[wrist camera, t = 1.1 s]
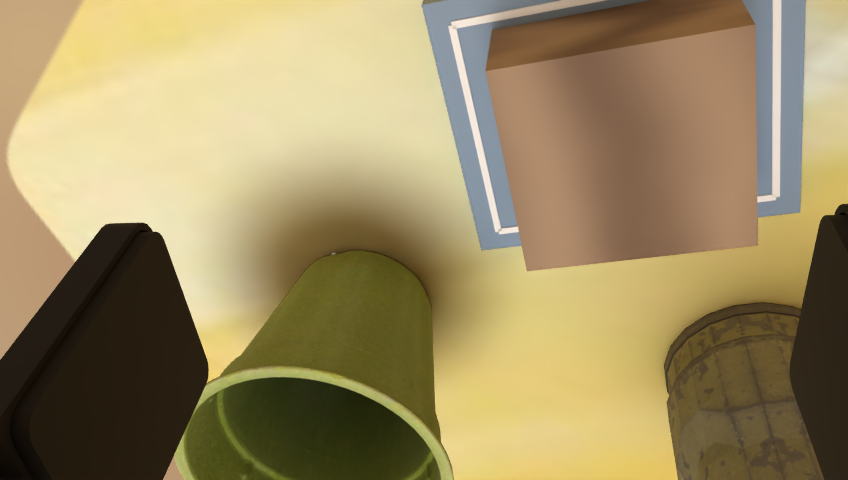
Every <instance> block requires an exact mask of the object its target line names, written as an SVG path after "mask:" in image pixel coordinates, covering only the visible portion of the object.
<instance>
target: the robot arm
mask: <svg viewBox="0 0 848 480" xmlns="http://www.w3.org/2000/svg"><path fill="white" fill-rule="evenodd" d="M208 370H209V369H208V362H207V358H206V355H205V353H204V350H203V347H202V344H201V341H200V339H199V336H198V333H197V330H196V328H195V325H194V322H193V319H192V316H191V314H190V311H189V308H188V305H187V303H186V300H185V297H184V294H183V291H182V289H181V286H180V283H179V280H178V278H177V275H176V272H175V269H174V266H173V264H172V261H171V258H170V255H169V253H168V250H167V247H166V244H165V241H164V239H163V237H162V236H161V235H160V233H158V232H153V231H152V229H151V228H150V227H149V226H148V225H147V224H145V223H114V224H106V225H105V226H103V227H102V228H101V229H100V231H99V232H98V233H97V235H96V236H95V237H94V239H93V240H92V241H91V242H90V244H89V245H88V246H87V248H86V249H85V250H84V252H83V253H82V254H81V255H80V257H79V258H78V259H77V261H76V262H75V263H74V265H73V266H72V267H71V269H70V270H69V271H68V272H67V274H66V275H65V276H64V278H63V279H62V280H61V282H60V283H59V284H58V285H57V287H56V288H55V290H54V291H53V292H52V293H51V295H50V296H49V297H48V299H47V300H46V301H45V302H44V304H43V305H42V306H41V308H40V309H39V310H38V312H37V313H36V314H35V316H34V317H33V318H32V319H31V321H30V322H29V323H28V325H27V326H26V327H25V329H24V330H23V331H22V332H21V334H20V335H19V336H18V338H17V339H16V340H15V342H14V343H13V344H12V345H11V347H10V348H9V350H8V351H7V352H6V353H5V355H4V356H3V357H2V359H1V360H0V480H163V478H164V476H165V474H166V471H167V469H168V467H169V465H170V463H171V460H172V458H173V456H174V454H175V452H176V450H177V448H178V445H179V443H180V441H181V439H182V437H183V434H184V432H185V430H186V428H187V426H188V423H189V421H190V419H191V417H192V415H193V412H194V410H195V408H196V406H197V404H198V401H199V399H200V397H201V395H202V393H203V390H204V388H205V386H206V383H207V380H208ZM790 381H791V386H792V390H793V393H794V395H795V398H796V401H797V404H798V407H799V410H800V412H801V415H802V418H803V421H804V424H805V427H806V429H807V432H808V435H809V438H810V441H811V444H812V446H813V449H814V452H815V455H816V458H817V461H818V463H819V466H820V469H821V472H822V475H823V477H824V480H848V204H842V205H840V206H839V207H838V208H837V210H836V212H835V215H825V216H824V217H823V218H822V219H821V222H820V225H819V229H818V234H817V238H816V243H815V248H814V252H813V257H812V262H811V266H810V271H809V276H808V280H807V285H806V290H805V294H804V299H803V304H802V308H801V313H800V318H799V322H798V327H797V332H796V337H795V341H794V346H793V351H792V355H791V360H790Z"/></svg>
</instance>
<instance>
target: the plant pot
mask: <svg viewBox="0 0 848 480" xmlns="http://www.w3.org/2000/svg"><path fill="white" fill-rule="evenodd" d="M174 457H175V462H176V464H177V467H178V470H179V472H180V473H181V475H182V476H183V479H184V480H454V477H453V471H452V466H451V463H450V460H449V458H448V455H447V453H446V451H445V449H444V447H443V445H442V443H441V436H440V427H439V423H438V419H437V416H436V413H435V393H434V365H433V334H432V310H431V305H430V302H429V299H428V297H427V295H426V292H425V290H424V288H423V286H422V284H421V282H420V281H419V280H418V278H417V277H416V276H415V275H414V274H413V273H412V272H411V271H410V270H408V269H407V268H406V267H404V266H403V265H401V264H400V263H398V262H396V261H394V260H393V259H391V258H389V257H386V256H383V255H380V254H377V253H373V252H368V251H361V250H352V251H348V252H344V253H340V254H335V255H330V256H324V257H322V258H320V259H318V260H317V261H315V262H314V263H312V264H311V265H310V266H309V267H308V268H307V269H306V270H305V271H304V273H303V274H302V275H301V277H300V278H299V279H298V281H297V282H296V283H295V285H294V286H293V287H292V289H291V290H290V291H289V293H288V294H287V295H286V296H285V298H284V299H283V300H282V302H281V303H280V304H279V306H278V307H277V308H276V310H275V311H274V312H273V314H272V315H271V316H270V318H269V319H268V320H267V322H266V323H265V325H264V326H263V327H262V328H261V330H260V331H259V332H258V334H257V335H256V336H255V337H254V339H253V340H252V341H251V343H250V344H249V345H248V347H247V348H246V349H245V351H244V352H243V353H242V355H241V356H239V357H238V358H236V359H235V360H234V361H232V362H231V363H230V364H229V366H228V367H227V368H226V369H225V370H224V371H223V372H222V374H221V375H220V376H219V377H217V378H215V379H213V380H211V381H209V382H208V383H206V386H205V388H204V390H203V393H202V395H201V397H200V399H199V401H198V404H197V406H196V408H195V410H194V412H193V415H192V417H191V419H190V421H189V423H188V426H187V428H186V430H185V432H184V434H183V437H182V439H181V441H180V443H179V445H178V448H177V450H176V452H175V454H174Z"/></svg>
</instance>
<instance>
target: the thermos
mask: <svg viewBox="0 0 848 480" xmlns="http://www.w3.org/2000/svg"><path fill="white" fill-rule="evenodd" d="M800 313H801V310H800V309H797V308H795V307H792V306H785V305H778V304H770V303H756V304H746V305H736V306H732V307H729V308H726V309H723V310H720V311H717V312H714V313H711V314H708V315H706V316H705V317H703V318H702V319H700V320H699V321H697V322H695V323H694V324H692V325H691V326H689V327H688V328H686V329H685V330H684V331H683V332H682V334H681V335H680V336H679V337H678V338H677V339H676V341H675V342H674V343H673V344H672V345H671V347H670V350H669V352H668V355H667V358H666V361H665V364H664V369H665V378H666V386H667V392H668V394H669V398H668V401H667V408H668V417H669V425H670V431H671V437H672V443H673V450H674V456H675V462H676V469H677V475H678V480H824V477H823V475H822V472H821V469H820V466H819V463H818V461H817V458H816V455H815V452H814V449H813V446H812V444H811V441H810V438H809V435H808V432H807V429H806V427H805V424H804V421H803V418H802V415H801V412H800V410H799V407H798V404H797V401H796V398H795V395H794V393H793V390H792V386H791V381H790V360H791V355H792V351H793V346H794V341H795V337H796V332H797V327H798V322H799V318H800Z"/></svg>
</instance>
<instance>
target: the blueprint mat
mask: <svg viewBox="0 0 848 480" xmlns="http://www.w3.org/2000/svg"><path fill="white" fill-rule="evenodd" d="M644 1H650V0H424V1H423V3H422V8H423V12H424V16H425V20H426V24H427V28H428V33H429V37H430V41H431V45H432V49H433V53H434V57H435V61H436V65H437V69H438V74H439V78H440V82H441V86H442V90H443V94H444V98H445V102H446V106H447V110H448V115H449V119H450V123H451V127H452V131H453V135H454V139H455V143H456V147H457V151H458V155H459V160H460V164H461V168H462V172H463V176H464V180H465V184H466V188H467V192H468V196H469V201H470V205H471V209H472V213H473V217H474V221H475V225H476V229H477V233H478V237H479V241H480V246H481V250H489V249H497V248H506V247H514V246H522V244H521V239H520V235H519V230H518V225H517V220H516V216H515V211H514V206H513V201H512V196H511V192H510V187H509V182H508V177H507V173H506V168H505V163H504V158H503V153H502V149H501V144H500V139H499V134H498V130H497V125H496V120H495V115H494V110H493V106H492V101H491V96H490V91H489V87H488V82H487V77H486V72H485V70H486V64H487V57H488V51H489V45H490V38H491V32H492V30H494V29H499V28H504V27H510V26H515V25H520V24H526V23H531V22H537V21H542V20H547V19H553V18H558V17H564V16H569V15H574V14H580V13H585V12H590V11H596V10H601V9H607V8H612V7H617V6H623V5H628V4H634V3H639V2H644ZM742 2H743V3H744V5H745V7H746V9H747V10H748V12H749V14H750V16H751V17H752V19H753V21H754V23H755V24H756V119H757V217H765V216H773V215H782V214H790V213H799V212H800V203H801V162H802V122H803V82H804V42H805V2H806V0H742Z"/></svg>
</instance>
